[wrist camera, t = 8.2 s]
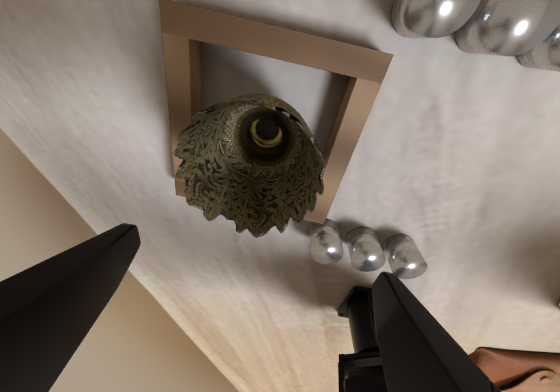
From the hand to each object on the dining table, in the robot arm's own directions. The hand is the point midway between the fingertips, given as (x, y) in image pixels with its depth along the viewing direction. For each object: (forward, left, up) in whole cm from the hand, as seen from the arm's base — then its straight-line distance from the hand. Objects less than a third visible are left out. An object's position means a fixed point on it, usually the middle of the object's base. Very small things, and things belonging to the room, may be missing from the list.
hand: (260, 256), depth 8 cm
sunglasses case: (-28, -45, -13) cm, 54 cm away
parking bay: (0, +1, -12) cm, 12 cm away
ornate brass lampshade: (+1, +1, -12) cm, 12 cm away
